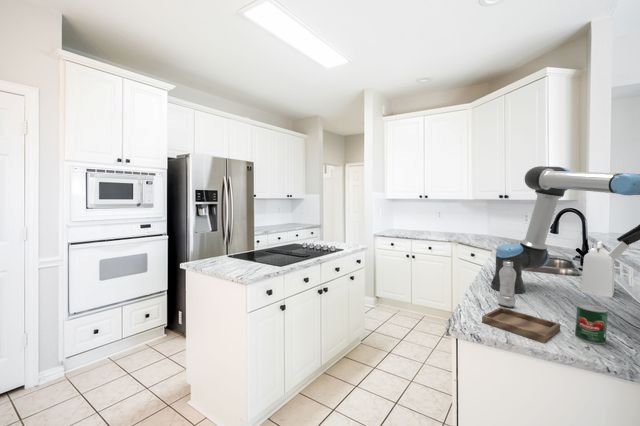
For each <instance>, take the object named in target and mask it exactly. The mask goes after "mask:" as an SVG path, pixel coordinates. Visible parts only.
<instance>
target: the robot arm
mask: <svg viewBox="0 0 640 426" xmlns="http://www.w3.org/2000/svg"><path fill="white" fill-rule="evenodd" d="M524 183H525V185H526V186H527V187H528V188H529V189H531V190H535V191H534V193H535V194H536V195H537V196H536V199H535V204H534V207H533V211H532V214H531V217H530V221H529V224H528V228H527V231H526V234H525V235H526V236H525V238H524V239H521V241H520V243H519V244H517V243H504V244H499V245H498V246H497V247H496V251H495V271H494V272H495V273H494V275H493V278H492V279H491V282H490V287H491V289H493V290H495V291H498V292H500V277H499V271H500V269H501V268H502V267H503V266H504V265H503V261H512V262H513V266H512V267H513V269H514V270H515V272H516V280H515V286H514V293H515V294H517V295H519V294H524V293H525V292H526V287H525V282H524V280H523V276H522V273H523V270H525V269H527V270H529V269H533V270H534V269H539V268H543V267H545V266H546V265H548V263H549V261H550V257H551V256H550V254H549V251H548V246H547V244H546V240H547V238H548V234H549V232H550V228H551V225H552V221H553V217H554V214H555V211H556V209H557V205H558V202H559V199H561V198H564V195H565V192H566V191H568V190H571V191H584V192H592V193H593V192H595V193H605V194H606V193H607V194H616V195H621V196H640V173H621V172H620V173H618V172H617V173H616V172H615V173H614V172H591V171H571V170H570V169H568V168H566V167H561V166H534V167H532V168H530V169H528V170H527V172H526V173H525V175H524ZM616 240H617V242H618V243H617V244H616V246H614V247H613V248H612V249H611V250H610V251H608V252H609V253H608V255H609V256H610V257H612V258H613V259H614V261H615V260H617V258H619V257H620V256H621V255H622V254H623V253H624V252H625V251H626V250H627V249H628V248H630V245H631V244H635V243H637V242H638V241H640V223H639V224H638V225H637V226H636V227H634V228H631V229H630V230H629V231H626V233H624V234H622V235H620V236H619V237H616Z"/></svg>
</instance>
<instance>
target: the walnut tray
mask: <svg viewBox="0 0 640 426" xmlns="http://www.w3.org/2000/svg"><path fill="white" fill-rule="evenodd" d="M481 318H482V319H481V323H482V324H486V325H489V326H491V327H495V328H497V329H500V330H504V331H507V332H509V333H513V334H515V335H518V336H521V337H524V338H528V339H531V340H533V341H537V342H540V343H542V344H546V343H547V342H548V341H549V340H550V339H551V340H552V338H553V337H554V336H556V335H557V334H558V333H560V331H561V323H559V322H556V321H552V320H547V319H544V318H542V317H541V318H540V317H537V316H533V315H531V314H527V313H523V312H520V311H515V310H512V309H509V308H507V307H506V308H505V307H497V308H496V309H494V310H492V311H490V312H488V313H486V314H483V315H482V316H481Z"/></svg>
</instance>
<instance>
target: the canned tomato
mask: <svg viewBox="0 0 640 426" xmlns="http://www.w3.org/2000/svg"><path fill="white" fill-rule="evenodd" d="M608 314H609V310H608V308H606V307H605V306H604V307H603V306H601V305H596V304H592V303H586V302H585V303H584V302H583V303H582V302H579V303H577V304H576V313H575V330H574V331H575V333H574V337H576V338H577V339H579V340H581V341H583V342H587V343H590V344H596V345H604V344H606V343H607V332H608V329H607V328H608V316H609V315H608Z"/></svg>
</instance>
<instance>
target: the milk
mask: <svg viewBox="0 0 640 426" xmlns="http://www.w3.org/2000/svg"><path fill="white" fill-rule="evenodd" d="M603 244H604V241H597V244H596V247H595V248H593V247H592V248H590V249H588V250H587V251H588V252H587V253H586V254H584V256H583V263H582V273H581V281H580V283H581V284H580V293H584V294H588V295H589V294H590V295H595V296H599V297H600V296H601V297H605V298H613V296H614V295H615V259H613V258H612V257H610V256H609V255H608V253H609V252H610V251H608V250H607V249H606V248H604V246H603Z"/></svg>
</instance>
